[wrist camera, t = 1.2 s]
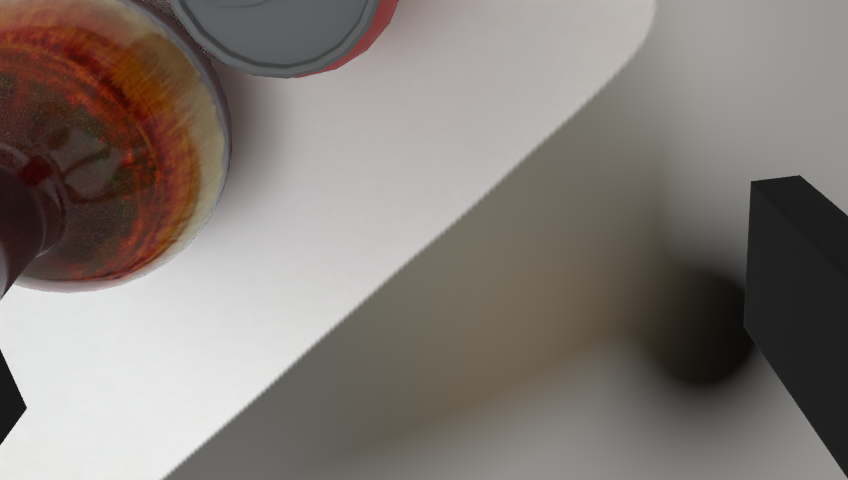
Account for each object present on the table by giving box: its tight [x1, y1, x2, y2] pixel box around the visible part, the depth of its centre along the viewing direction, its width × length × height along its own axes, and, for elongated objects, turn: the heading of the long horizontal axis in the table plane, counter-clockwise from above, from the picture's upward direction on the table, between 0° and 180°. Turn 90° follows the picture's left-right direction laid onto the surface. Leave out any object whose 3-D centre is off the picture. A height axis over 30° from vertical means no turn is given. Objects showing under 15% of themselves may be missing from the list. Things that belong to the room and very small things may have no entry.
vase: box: [0, 0, 232, 300], centre depth 26 cm, size 11×11×15 cm
